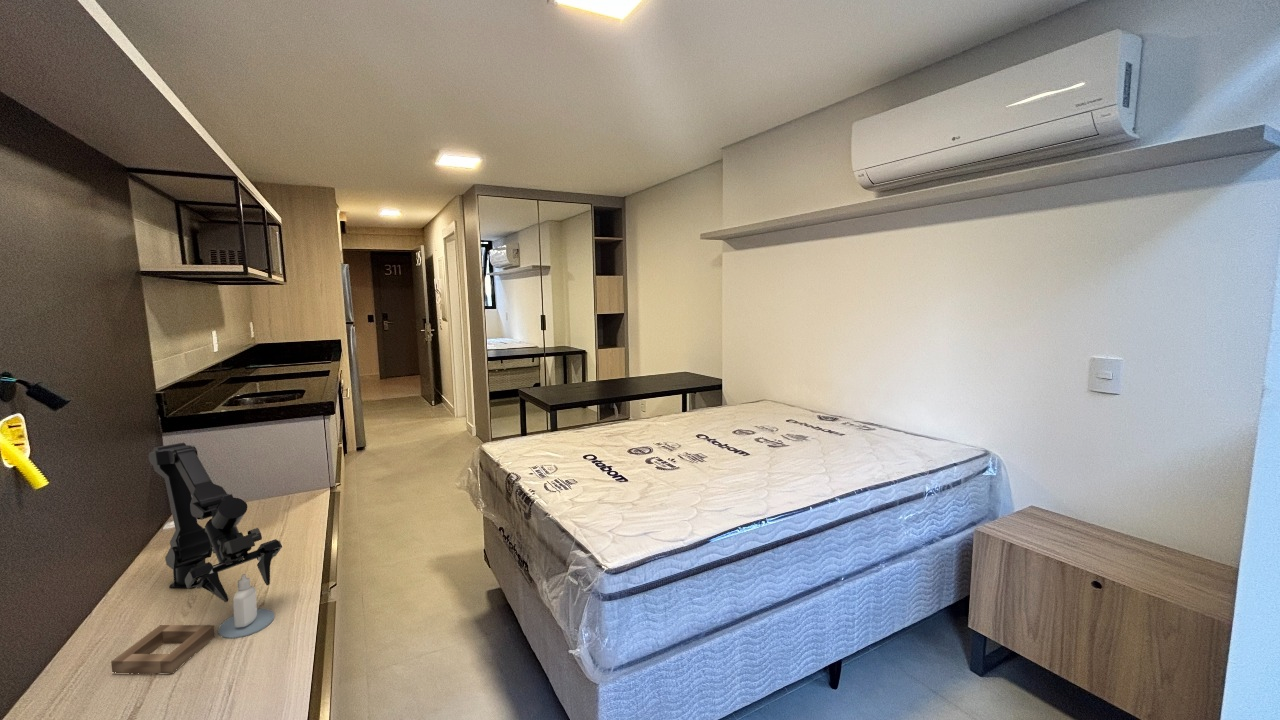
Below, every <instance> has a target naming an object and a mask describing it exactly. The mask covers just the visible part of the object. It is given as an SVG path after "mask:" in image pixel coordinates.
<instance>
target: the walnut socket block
mask: <svg viewBox="0 0 1280 720" xmlns="http://www.w3.org/2000/svg"><path fill="white" fill-rule="evenodd" d="M215 635H216V632H215V625H214V624H212V625H211V624H189V625H188V624H159V626H158V625H157V627H155V628H154V629H153V630H152V631H150V632H149V633H147V634H146V635H144V636H143V637H142V638H141V639H139V640H138V641H137V642H135V643H134V644H132V645H131V646H130V647H128V648H127V649H125V650H124V651H123V652H121V654H119V655H118V656H116V657H115V658H114V659H112V660H111V665H110V666H111V673H112V672H114V673H115V672H116V673H129V674H128V675H156V674H155V673H173V672H174V671H175V670H176V669H177V670H179V669H180V668H181V667H182V666H183V665H184V664H185V663H186V661H187V660H188V659H189V658H190V657H191V658H193V657H194V656H195V655H196V654H197V653H198V652H199V651H200V650H202V649H203V648H204V647H205V646H206V645H208V644H209V641H210V640H211V641H212V640H213V639H214V638H215ZM163 644H178V646H177V647H175V649H173V650H172V651H171V652H169V653H152V651H153V652H154V651H155V650H157V649H158V648H159V647H161V645H163ZM179 644H180V645H179ZM195 653H196V654H195ZM194 654H195V655H194ZM191 658H190V659H191ZM190 659H189V660H190ZM189 660H188V661H189ZM188 661H187V662H188ZM184 662H185V663H184ZM183 663H184V664H183ZM182 664H183V665H182ZM181 665H182V666H181ZM180 666H181V667H180ZM179 667H180V668H179ZM178 668H179V669H178ZM177 670H176V671H177ZM176 671H175V672H176ZM175 672H174V673H175ZM131 673H133V674H131ZM138 673H139V674H138ZM152 673H153V674H152ZM174 673H173V674H174Z"/></svg>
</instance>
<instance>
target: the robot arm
mask: <svg viewBox="0 0 1280 720" xmlns="http://www.w3.org/2000/svg"><path fill="white" fill-rule="evenodd" d="M148 461H149V463H150V465H151V466H152V467H153V470H154V472H155V473H157V475H159V476H160V477H162V478H163V479H164V482H165V487H166V492H167V493H166V494H167V496H168V500H169V505H170V509H171V515H172V520H173V524H174V529H175V531H174V533H173V535H172V537H171V539H170V542H169V544H170V548H169V549H168V551H167V553H166V555H165V556H164V560H165V564H166V566H168V567H169V568H170V569H172V574H173V582H172V583H171V584H169V586H168V587H169V588H170V589H194V588H196V589H198V590H199V589H201V588H202V589H204V590H206V591H208V592H210V593H211V594H213V595H214V596H216V597H218V599H220V600H222V601H223V602H224V603H228V602H229V597H228V594H227V592H226V590H225V588H224V586H223V585H222V582H221V580H220V577H219V573H220V572H223V571H225V570H228V569H230V568H234V567H236V566H240V565H241V564H245V563H247V562H251V561H252V560H255V559H257V561H258V562H257V564H256V566H257V569H258V571H259V573H260V575H261V578H262V580H263V582H264V584H265V585H266V586H269V585H270V584H271V565H272V563H271V562H272V560H273V558H275V557H276V556H277V555H278V554H279V553H280V551H281V549H282V548H283V545H282V542H281V541H280V540H279V539H272V540H269V541H265V542H263V543H261V544H259V546H258V548H257V549H256V550H253V551H251V550H252V547H255V546H256V542H259V541H261V540H262V539H263V537H262V533H261V531H260V529H259V527H256V528H252V529H249V530H247V534H246V535H244V534H243V533H242V532H240V531H239V528H238V527H237V526H238V525H239V523H240V522H241V520H242V519H243V517H244V516H245V514H246V512H247V511H248V504H247V502H246V501H244V500H243V499H242V498H238V497H234V496H233V494H232V493H228V492H227V491H226V490H225V488H224V487H223V486H221V485H219V484H215V483H214V482H213V481H212V479H211V477H210V475H209V474H208V472H207V470H206V468H205V467H204V465H203V463H202V461H201V460H200V458H199V456H198V450H197V448H196V446H195V445H194V444H193V445H192V444H189V445H188V444H186V443H185V442H178V443H173V444H172V443H171V444H167V445H162V446H155V447H154V448H153V450H152V451H150V452H149V453H148ZM208 518H210V519H209V520H207V521H206V524H205V525H204V527H202V526H201V525H200V524H199V523H198V520H205V519H208ZM249 551H251V552H249ZM212 554H215V556H216V559H217V561H218V563H216V564H214V565H213V564H212V563H211V562H209V561H208V562H206V559H208V558H211V557H212Z"/></svg>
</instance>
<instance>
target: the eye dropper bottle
mask: <svg viewBox="0 0 1280 720" xmlns="http://www.w3.org/2000/svg"><path fill="white" fill-rule="evenodd" d="M256 591H257V590H256V586H253V585H252V586H251V578H249V577H247V576H246V574H245V573H243V574H241V578H240V579H239V580H238V581H237V591H236V592H235V594H234V595H233V600H232V602H233V603H232V605H233V616H234V625H235V627H236V628H239V627H245V626H247V625H249V624H250V623H252V622H253V621H254V620H255V619H256V617H257V609H258V607H257V592H256Z"/></svg>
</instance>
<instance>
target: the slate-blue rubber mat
mask: <svg viewBox="0 0 1280 720" xmlns="http://www.w3.org/2000/svg"><path fill="white" fill-rule="evenodd" d="M274 619H275V613H274V611H273V610H271V609H268V608H257V617H256V619H255V620H254V621H253V622H252V623H250V624H249V625H247V626H245V627H239V628H236V627H235V625H234V615H232V616H230V617H229V618H227V619H226V620H223V622H222V623H221V624H220V625H219V627H218V629H217V630H218V631H217V632H218V635H219V636H220V637H221V636H222V638H225V639H239V638H245V637H249V636H251V635H253V634H256V633H258V632H260V631H262V630H264V629H266V628H267V627H268V626H269V625H271V624H272V622H273V621H274Z"/></svg>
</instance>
